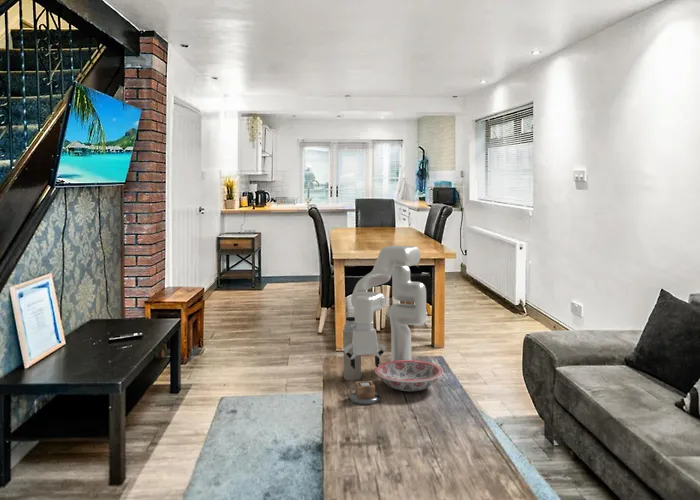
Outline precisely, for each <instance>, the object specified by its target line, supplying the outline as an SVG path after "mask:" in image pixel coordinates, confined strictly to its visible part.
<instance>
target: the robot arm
mask: <svg viewBox="0 0 700 500" xmlns="http://www.w3.org/2000/svg"><path fill="white" fill-rule="evenodd" d="M421 254H422V253H421V250H420V248H419V247H418V246H414V245H388V246H386V247H385V246H384V247H382V248H381V249H380V251H379V253H378V256H377V259H376V260H375V263H374V266H373V268H372V270H371V271H370V272H369V273H367V274H365V275H364V276H363V277H362V278H360V279H359V280H358V281H357V283H356V284H355V286H354V289H353V292H352V294H351V299H350V302H351V303H350V304H351V306H352V307H353V308H354V317H355V323H354V324H351V327H353V328H355V329H354V330H353V337H352V344H350V345H348V346H347V347H345V348H344V351H345V353H346V355H347V356H348V357H349V358H350V359H351V366H352V367H353V369H355V359H354V357H355V356H356V355H361V356H369V355H374V365H375V368H376V367H378V366H379V365H381V364H380V362H381V361H380V358H381V356H382V355H383V354H384V352H385V350H386V349H387V348H386V347H387V346H386V345H385V344H383V343H381V342H378V336H377V330H376V328H374V312H378V311H379V312H380V311H381V310H382V309H383V308H384V307H385V305H386V297H385V295H384V294H383V293H382V292H376V291H368V290H371V289H372V288H374V287H377V286H381V285H383V284H386V283H388V282H390V280H391V278H392V284H391V287H392V288H391V289H392V291H391V292H392V297H393V299H394V300H395V301H398V302H407V303H395V304H392V305H391V306H390V307H389V310H388V317H389V321H390V332H391V338H390V339H391V344H390V345H391V348H390V349H391V360H390V361H398V360H412V331H411V329H410V327H409V326H410V325H411V326H423V325H424V324H425V323H426V319H427V288H426V285H425V284H424V283H423V282H420V281H412V279H411V269H410V267H412V266H416V265H417V264H419V262H420V260H421ZM408 302H409V303H408ZM410 302H411V304H410ZM412 303H414V304H412ZM351 348H352V351H353V352H352V353H351V354H350V353H349V352H348V350H349V349H351ZM379 348H380V350H379Z"/></svg>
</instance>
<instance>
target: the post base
mask: <svg viewBox="0 0 700 500" xmlns="http://www.w3.org/2000/svg"><path fill="white" fill-rule="evenodd" d="M360 386H370V384H369V382H367V383H360ZM349 397H350V402H351V403H353V404H355V405H359V406H369V405H374V404H377V403H379V402H380V400H381V399H380V393H378V392H376V391H375V398H374V399H360V400H358V398H357V396H356V393H355V392H353V393H351V394H350V396H349Z"/></svg>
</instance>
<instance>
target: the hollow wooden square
mask: <svg viewBox="0 0 700 500" xmlns="http://www.w3.org/2000/svg"><path fill="white" fill-rule="evenodd" d="M367 382H369V384H370V386H360V383H367ZM354 385H355V386H354V387H355V392H354V393H356V396H357V398H358V400H360V399H374V398H375V392H376V386H375V384H374V382H373V380H364V381H355V383H354Z"/></svg>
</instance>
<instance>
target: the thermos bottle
mask: <svg viewBox="0 0 700 500" xmlns="http://www.w3.org/2000/svg"><path fill="white" fill-rule="evenodd" d="M345 319H346V321H345V322H346V323H345V324H344V325H343V326H344V327H343V328H344V329H342V335H343V336H342V342H343V343H342V348H343V350H342V354H343V378H344V380H346V381H357V380H360V379H362V355H356V356H355V357H354V359H355V369H353V367H352V366H351V359H350V358H349V357H348V356H347V355H346V353H345V351H344V348H345V347H347V346H348V345H350V344H352V337H353V330H354V329H355V328H353V327H351V324H354V323H355V316H348V317H346V318H345ZM348 352H349V353H350V354H351V353H352V352H353V351H352V348H351V349H349V350H348Z"/></svg>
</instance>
